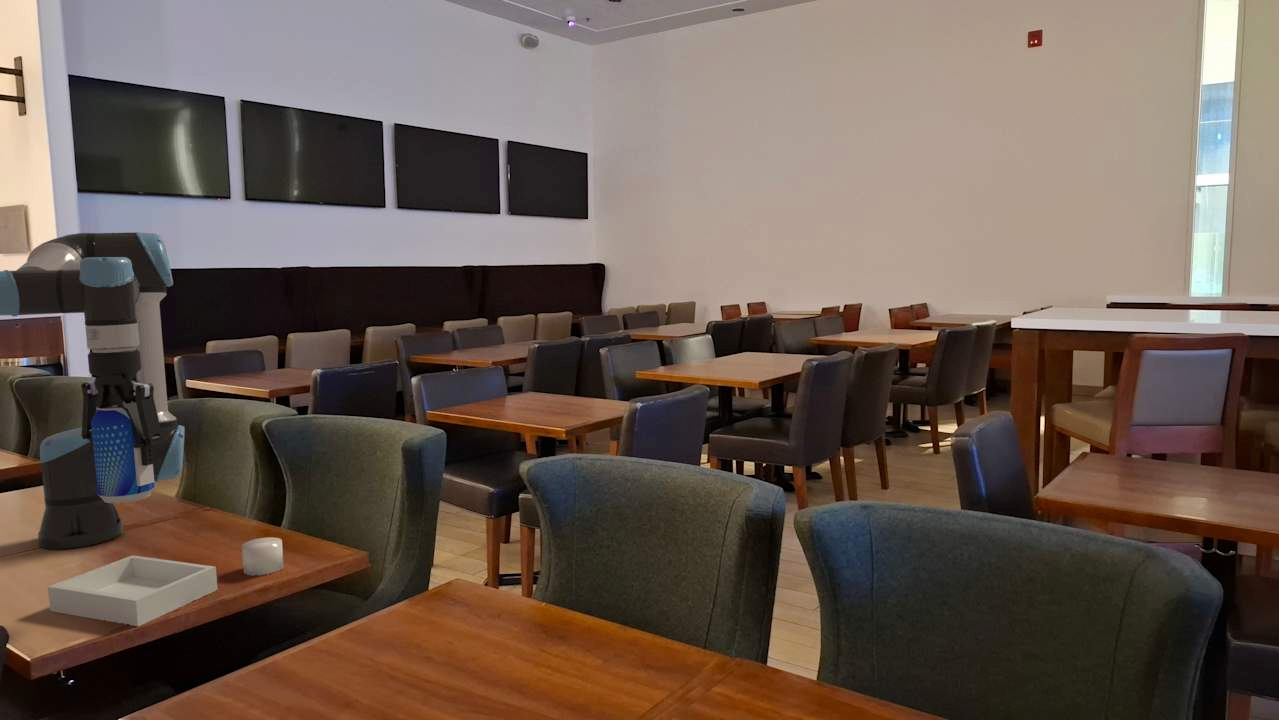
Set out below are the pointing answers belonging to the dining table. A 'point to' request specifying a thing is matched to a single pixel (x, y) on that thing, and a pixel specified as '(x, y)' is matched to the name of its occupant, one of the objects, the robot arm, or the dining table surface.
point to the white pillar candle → (262, 556)
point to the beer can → (116, 457)
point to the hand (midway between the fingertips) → (125, 481)
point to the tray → (132, 590)
